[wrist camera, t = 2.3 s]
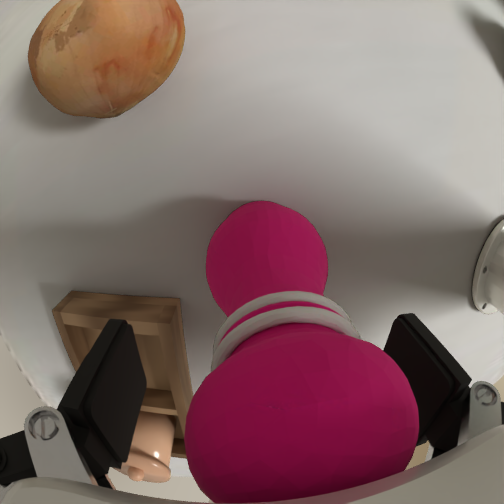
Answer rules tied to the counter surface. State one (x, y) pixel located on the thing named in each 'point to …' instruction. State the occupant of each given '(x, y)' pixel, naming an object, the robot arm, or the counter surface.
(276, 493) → the pepper mill
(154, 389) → the caddy
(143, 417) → the salt crock
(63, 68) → the onion
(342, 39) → the counter surface
